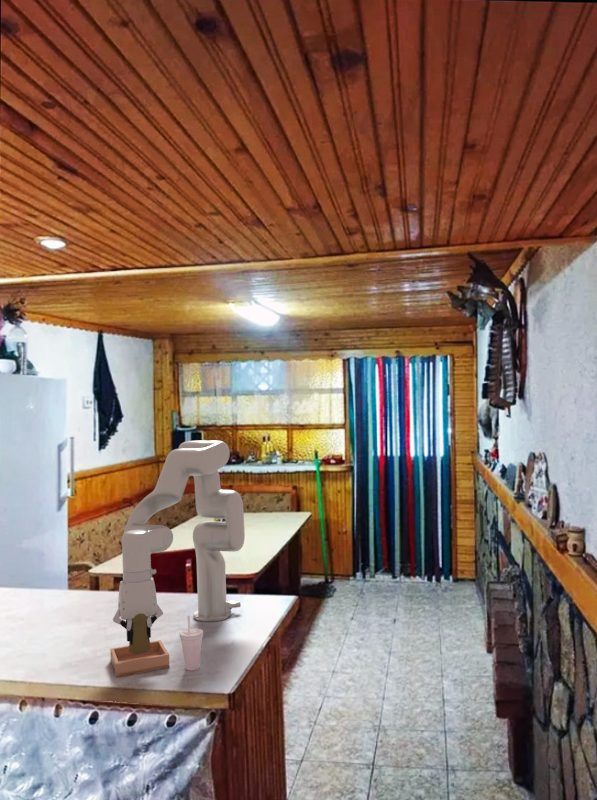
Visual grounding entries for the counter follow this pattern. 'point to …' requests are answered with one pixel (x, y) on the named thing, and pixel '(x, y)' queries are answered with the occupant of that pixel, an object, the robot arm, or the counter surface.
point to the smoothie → (191, 646)
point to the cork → (139, 635)
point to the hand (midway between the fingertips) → (138, 641)
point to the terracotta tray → (139, 659)
